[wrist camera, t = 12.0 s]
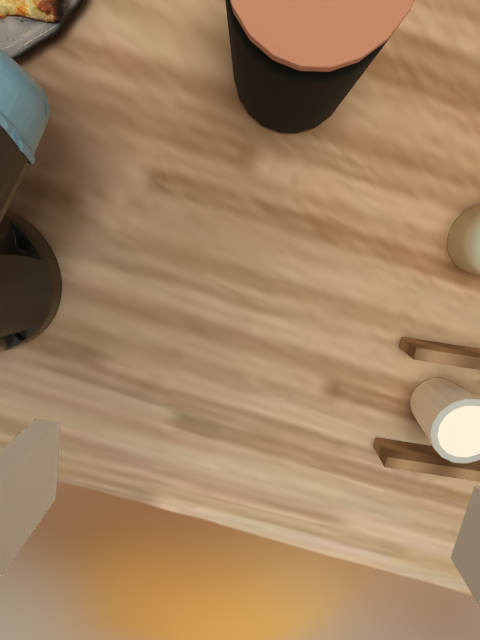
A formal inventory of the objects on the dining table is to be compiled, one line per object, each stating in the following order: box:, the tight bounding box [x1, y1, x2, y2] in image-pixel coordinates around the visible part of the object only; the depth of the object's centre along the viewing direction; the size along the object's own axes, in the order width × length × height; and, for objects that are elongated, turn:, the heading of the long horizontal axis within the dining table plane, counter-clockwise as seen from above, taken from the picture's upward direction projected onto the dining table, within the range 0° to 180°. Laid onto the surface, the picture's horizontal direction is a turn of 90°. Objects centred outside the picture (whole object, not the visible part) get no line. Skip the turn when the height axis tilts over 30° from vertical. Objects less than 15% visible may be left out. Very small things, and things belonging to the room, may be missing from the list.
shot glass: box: [410, 378, 480, 463], centre depth 42 cm, size 7×7×7 cm
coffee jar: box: [226, 0, 414, 133], centre depth 30 cm, size 11×11×18 cm
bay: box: [374, 337, 480, 482], centre depth 44 cm, size 13×13×4 cm
